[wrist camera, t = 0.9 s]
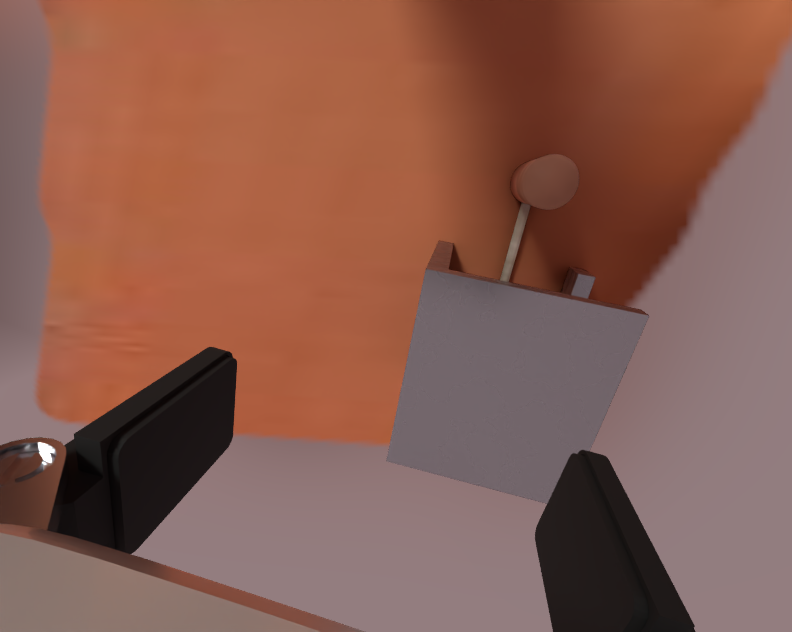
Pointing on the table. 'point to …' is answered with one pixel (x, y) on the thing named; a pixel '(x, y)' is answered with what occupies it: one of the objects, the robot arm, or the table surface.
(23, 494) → the robot arm
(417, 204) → the table surface
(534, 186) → the corded block
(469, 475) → the block
